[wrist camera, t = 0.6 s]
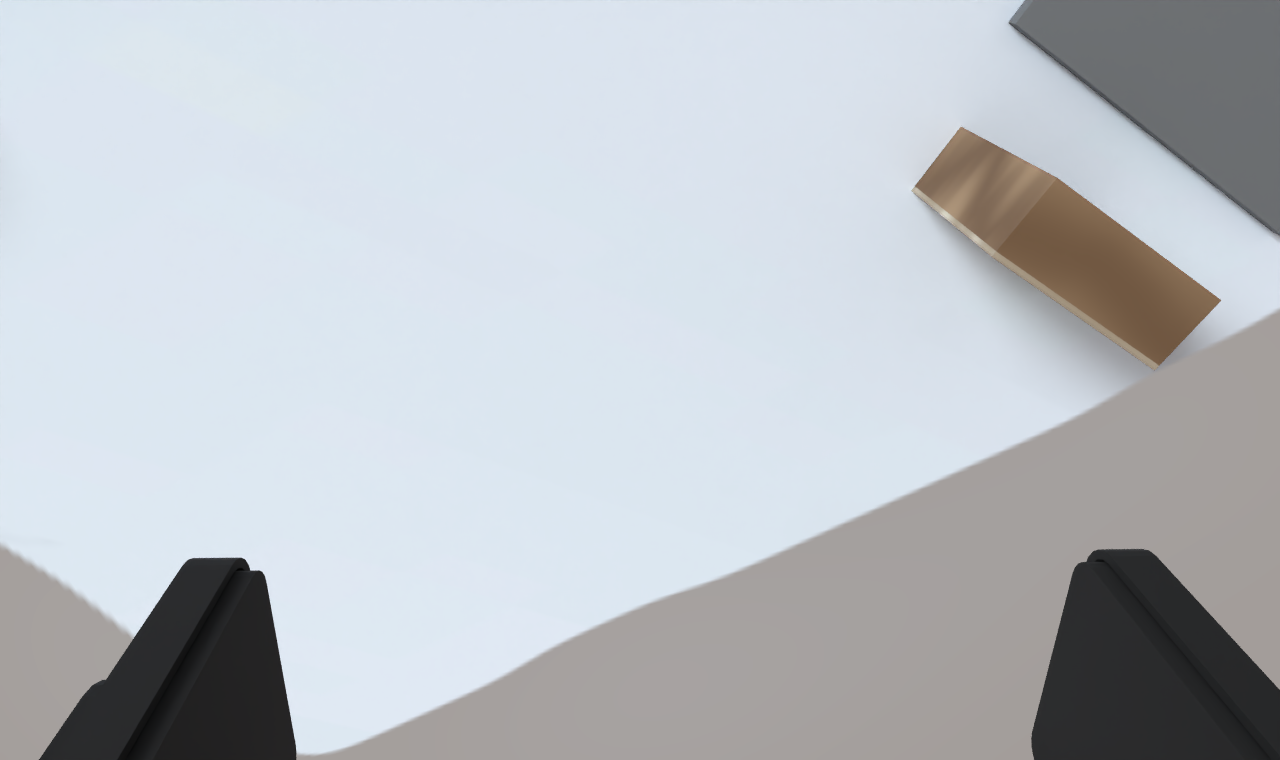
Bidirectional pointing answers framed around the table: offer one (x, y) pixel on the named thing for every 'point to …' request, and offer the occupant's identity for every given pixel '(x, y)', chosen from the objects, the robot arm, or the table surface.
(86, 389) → the table surface
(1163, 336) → the brown wooden block
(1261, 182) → the mat
